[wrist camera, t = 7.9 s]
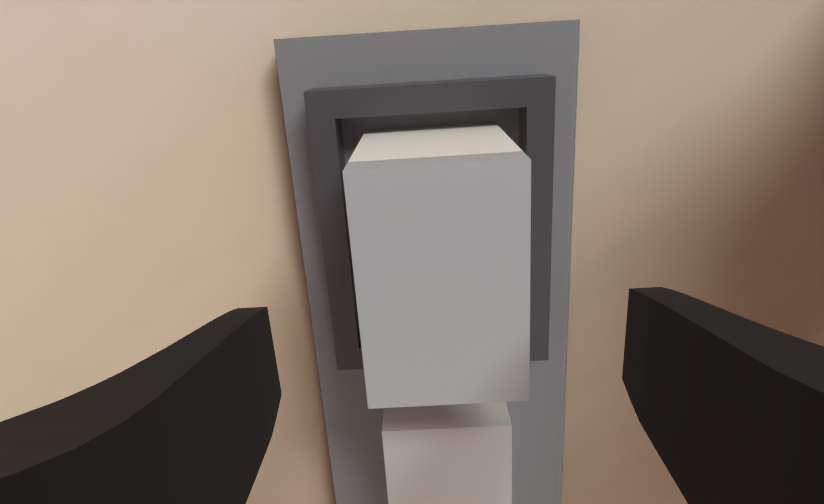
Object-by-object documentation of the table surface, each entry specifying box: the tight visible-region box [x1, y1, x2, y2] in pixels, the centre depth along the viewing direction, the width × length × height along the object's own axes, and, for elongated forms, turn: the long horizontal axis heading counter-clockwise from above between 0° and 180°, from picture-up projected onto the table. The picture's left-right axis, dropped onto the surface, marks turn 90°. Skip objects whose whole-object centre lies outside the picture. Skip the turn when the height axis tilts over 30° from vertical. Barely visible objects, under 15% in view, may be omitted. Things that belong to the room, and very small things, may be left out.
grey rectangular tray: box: [274, 20, 580, 504], centre depth 19 cm, size 9×20×5 cm, turn 3°
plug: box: [342, 122, 531, 409], centre depth 16 cm, size 4×6×6 cm, turn 4°
